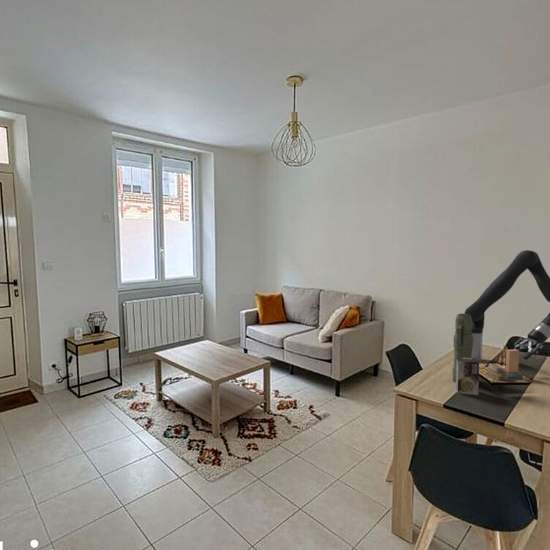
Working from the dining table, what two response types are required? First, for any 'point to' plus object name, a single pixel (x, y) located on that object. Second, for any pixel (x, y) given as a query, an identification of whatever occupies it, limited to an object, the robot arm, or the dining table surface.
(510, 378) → the rack
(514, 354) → the board
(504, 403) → the dining table surface
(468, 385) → the coffee box
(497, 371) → the offcut pile
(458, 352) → the thermos
